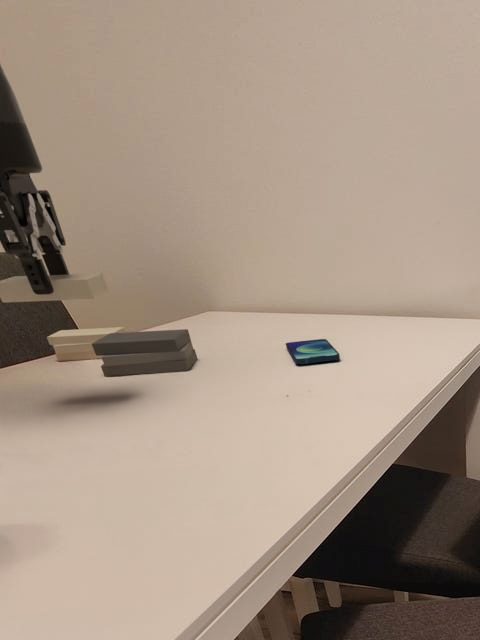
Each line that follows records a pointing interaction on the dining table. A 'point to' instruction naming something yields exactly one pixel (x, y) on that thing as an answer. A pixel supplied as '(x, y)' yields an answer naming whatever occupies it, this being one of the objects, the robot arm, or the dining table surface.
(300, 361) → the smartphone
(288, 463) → the dining table surface
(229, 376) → the dining table surface
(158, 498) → the dining table surface
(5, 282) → the beige flat block
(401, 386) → the dining table surface
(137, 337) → the grey stack
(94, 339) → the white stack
